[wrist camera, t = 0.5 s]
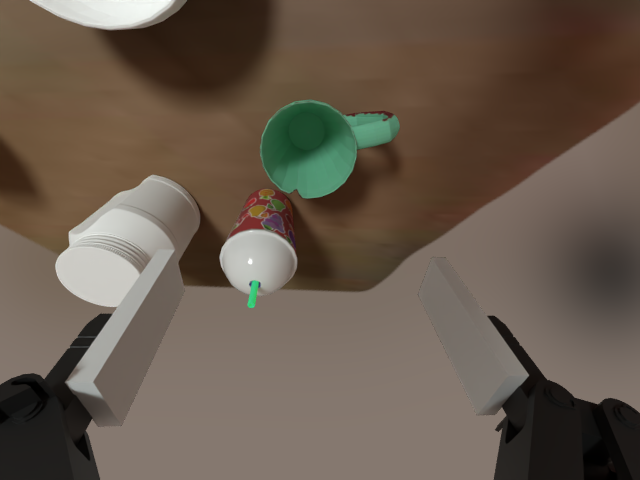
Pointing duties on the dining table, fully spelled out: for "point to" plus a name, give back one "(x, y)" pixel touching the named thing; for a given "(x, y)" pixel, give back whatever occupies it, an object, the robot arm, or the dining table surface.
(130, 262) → the jar
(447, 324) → the robot arm
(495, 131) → the dining table surface
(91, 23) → the bowl
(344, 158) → the mug
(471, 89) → the dining table surface
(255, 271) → the smoothie
